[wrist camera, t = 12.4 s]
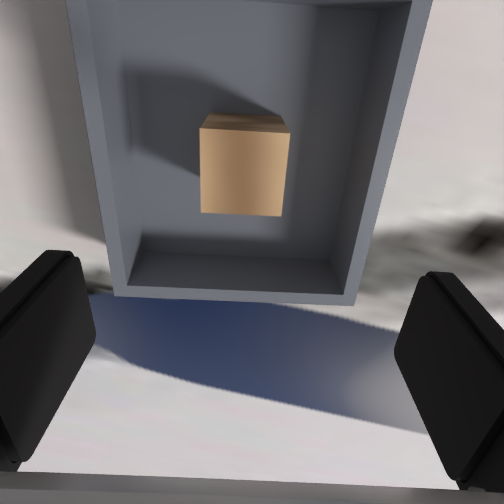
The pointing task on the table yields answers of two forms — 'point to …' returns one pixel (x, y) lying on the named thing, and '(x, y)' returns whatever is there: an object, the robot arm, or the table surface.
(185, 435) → the table surface
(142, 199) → the bin
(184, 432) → the table surface
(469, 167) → the table surface
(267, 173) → the oak block
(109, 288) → the table surface
